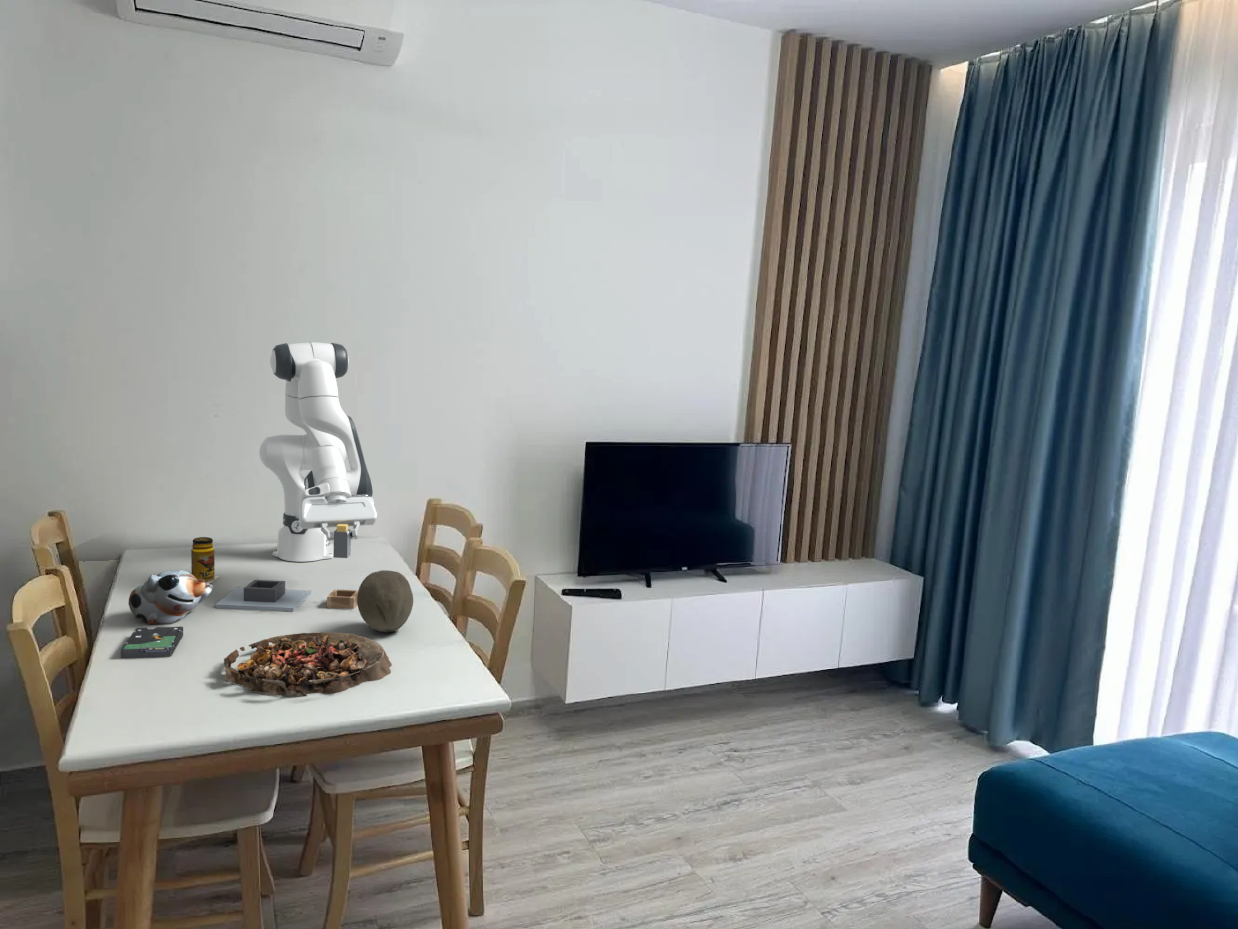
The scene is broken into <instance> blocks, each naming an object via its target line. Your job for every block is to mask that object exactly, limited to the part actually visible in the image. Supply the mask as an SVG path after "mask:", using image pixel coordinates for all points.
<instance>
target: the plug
mask: <svg viewBox="0 0 1238 929" xmlns="http://www.w3.org/2000/svg"><path fill="white" fill-rule="evenodd" d="M351 531H352V529H349V526H348V524H338V525H337V527H336V529H335V530H334V531H333V535H334V539H333V544H334V552H333V558H335V559H348V558H349V557H350V556H351V550H352V549H351V545H352V539H351ZM333 558H332V559H333Z"/></svg>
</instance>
